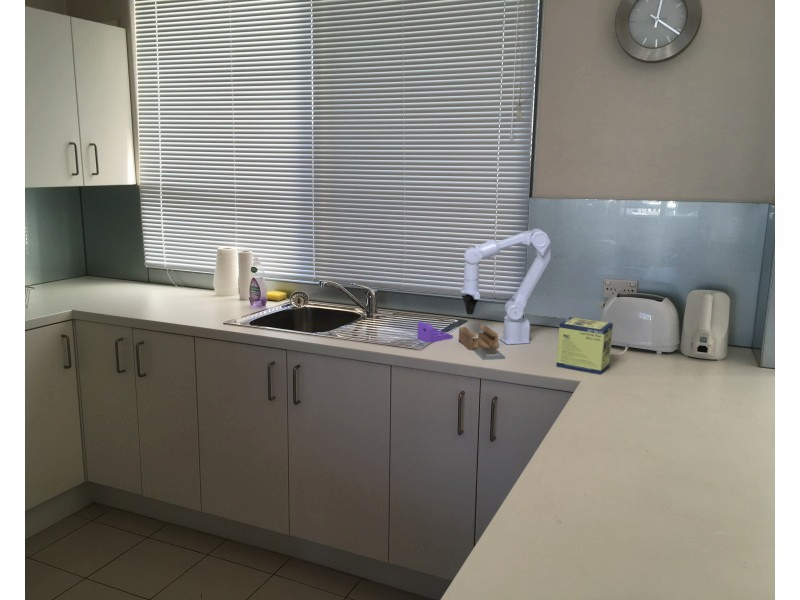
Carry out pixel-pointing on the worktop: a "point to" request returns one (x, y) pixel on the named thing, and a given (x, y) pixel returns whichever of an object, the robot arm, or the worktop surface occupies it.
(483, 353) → the cover plate
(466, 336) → the sleeve box
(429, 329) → the bracket
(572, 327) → the protein box
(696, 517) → the worktop surface
